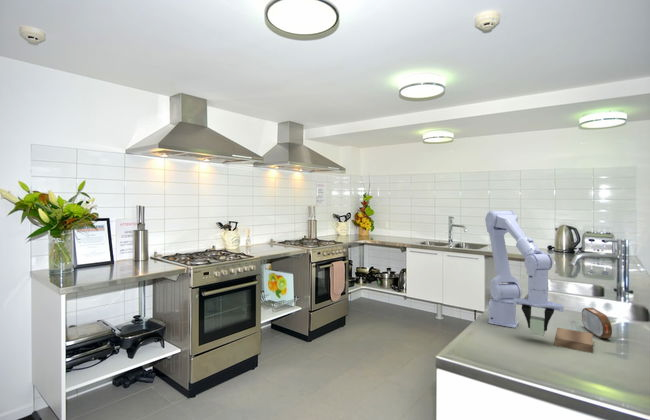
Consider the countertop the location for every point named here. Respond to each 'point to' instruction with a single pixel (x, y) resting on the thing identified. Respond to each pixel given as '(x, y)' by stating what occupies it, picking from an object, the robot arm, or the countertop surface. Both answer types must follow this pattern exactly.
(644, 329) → the countertop surface
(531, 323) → the sage cube
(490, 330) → the countertop surface
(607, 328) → the tin
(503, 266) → the robot arm
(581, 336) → the walnut block
